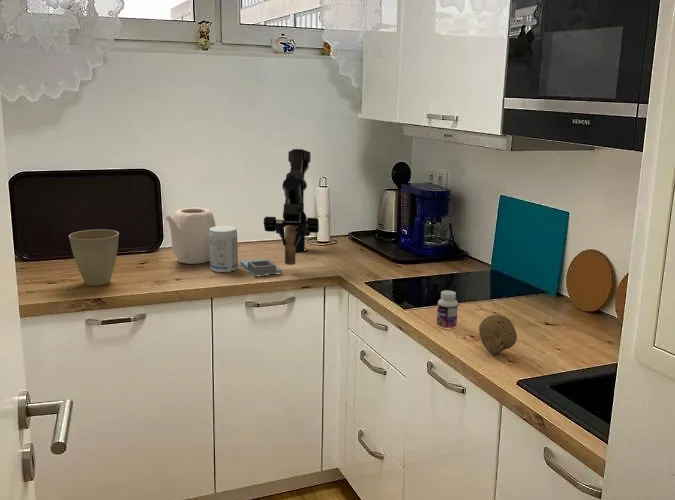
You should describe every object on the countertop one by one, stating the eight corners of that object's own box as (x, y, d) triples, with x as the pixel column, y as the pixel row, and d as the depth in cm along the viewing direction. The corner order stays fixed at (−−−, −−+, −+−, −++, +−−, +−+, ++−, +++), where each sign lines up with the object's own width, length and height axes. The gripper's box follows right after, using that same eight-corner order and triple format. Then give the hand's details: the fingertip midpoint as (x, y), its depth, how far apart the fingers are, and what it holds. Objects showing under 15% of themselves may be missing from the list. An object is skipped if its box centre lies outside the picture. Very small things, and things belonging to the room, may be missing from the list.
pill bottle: (432, 324, 188) (434, 290, 185) (449, 322, 190) (451, 288, 188) (443, 331, 183) (445, 296, 181) (460, 328, 185) (462, 294, 183)
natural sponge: (506, 346, 173) (510, 309, 171) (521, 360, 165) (524, 321, 162) (472, 347, 172) (475, 310, 169) (485, 361, 163) (488, 322, 161)
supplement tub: (229, 264, 243) (228, 224, 240) (243, 270, 236) (242, 229, 233) (204, 268, 237) (203, 227, 234) (218, 275, 230) (217, 232, 227)
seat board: (240, 265, 243) (240, 255, 242) (267, 262, 247) (267, 253, 246) (254, 277, 228) (254, 267, 228) (282, 274, 232) (282, 264, 232)
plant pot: (121, 275, 228) (118, 228, 224) (121, 287, 214) (119, 238, 210) (73, 277, 223) (69, 230, 219) (70, 290, 209) (67, 240, 205)
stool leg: (283, 262, 234) (283, 225, 231) (293, 261, 236) (293, 224, 233) (287, 265, 231) (287, 227, 228) (296, 264, 232) (297, 226, 229)
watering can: (150, 267, 238) (148, 214, 233) (197, 251, 261) (196, 202, 257) (186, 273, 231) (184, 218, 227) (231, 256, 255) (230, 206, 250)
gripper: (264, 193, 232) (260, 232, 224) (319, 194, 231) (316, 233, 223) (266, 211, 241) (263, 249, 233) (319, 213, 241) (317, 251, 233)
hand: (289, 245), depth 230 cm, fingers closed on stool leg, 4 cm apart
